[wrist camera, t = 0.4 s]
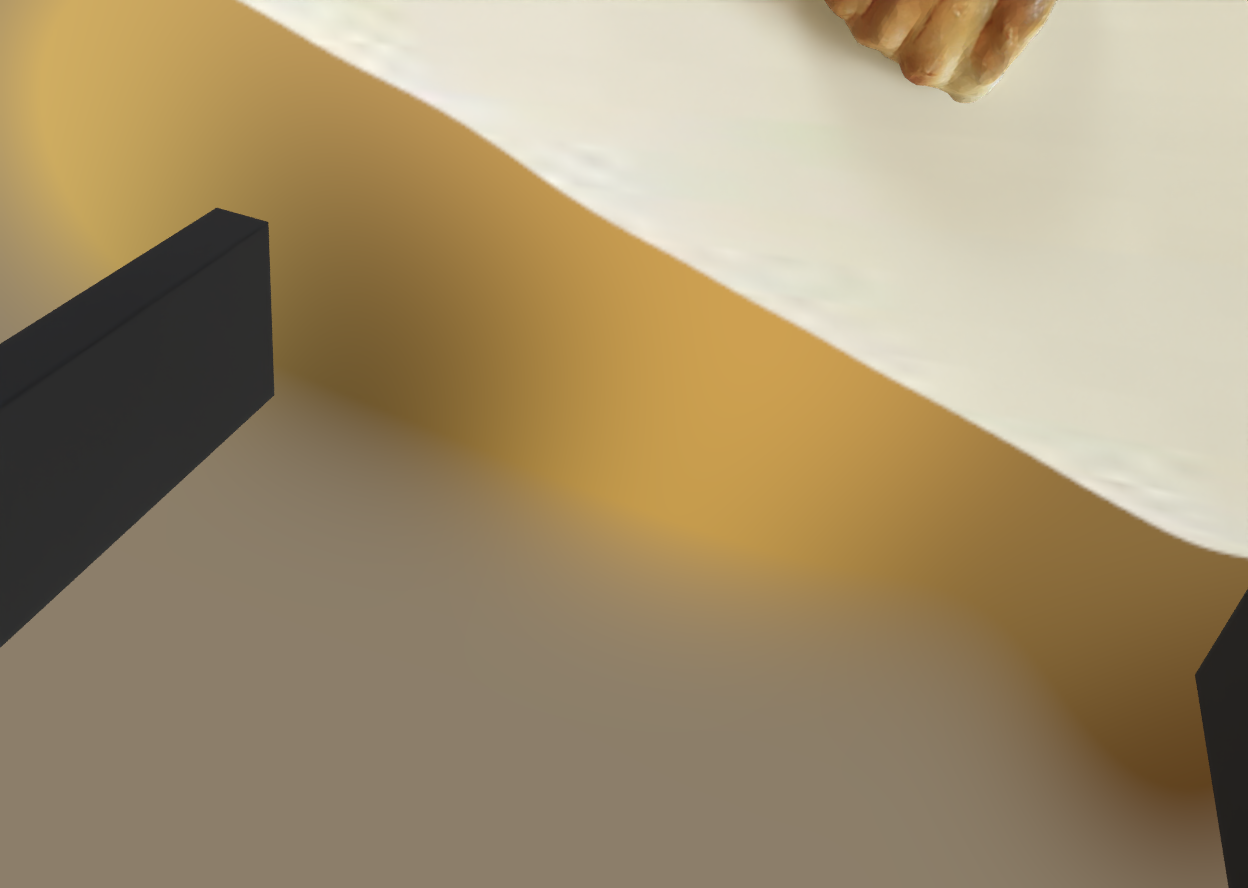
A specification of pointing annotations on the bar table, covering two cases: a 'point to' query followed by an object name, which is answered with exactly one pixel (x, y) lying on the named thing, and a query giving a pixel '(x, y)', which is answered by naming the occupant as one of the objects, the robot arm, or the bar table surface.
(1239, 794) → the robot arm
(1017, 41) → the pastry
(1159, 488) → the bar table surface
